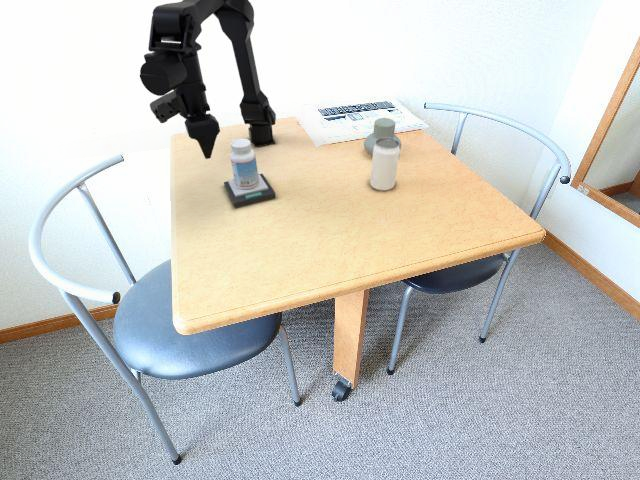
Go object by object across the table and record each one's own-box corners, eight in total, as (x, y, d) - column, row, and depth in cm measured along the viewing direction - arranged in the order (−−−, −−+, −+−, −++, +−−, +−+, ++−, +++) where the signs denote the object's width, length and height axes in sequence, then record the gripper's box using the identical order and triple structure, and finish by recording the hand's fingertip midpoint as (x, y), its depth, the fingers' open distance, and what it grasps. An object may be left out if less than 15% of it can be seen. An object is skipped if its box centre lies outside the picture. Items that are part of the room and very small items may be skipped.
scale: (263, 178, 100) (262, 171, 98) (275, 198, 92) (275, 190, 91) (224, 187, 96) (223, 179, 95) (234, 208, 89) (233, 200, 88)
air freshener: (392, 145, 114) (397, 114, 108) (403, 157, 108) (409, 125, 102) (359, 149, 112) (361, 118, 106) (369, 162, 106) (372, 129, 100)
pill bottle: (263, 180, 95) (258, 139, 87) (250, 192, 91) (244, 150, 83) (243, 175, 97) (237, 135, 89) (230, 186, 92) (222, 145, 85)
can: (396, 180, 99) (402, 138, 91) (392, 193, 94) (398, 150, 86) (372, 176, 100) (377, 135, 92) (367, 189, 96) (371, 146, 88)
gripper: (142, 71, 78) (162, 140, 88) (150, 100, 65) (173, 176, 76) (195, 65, 82) (208, 131, 92) (213, 91, 69) (226, 165, 79)
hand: (203, 149), depth 85 cm, fingers open, 9 cm apart
